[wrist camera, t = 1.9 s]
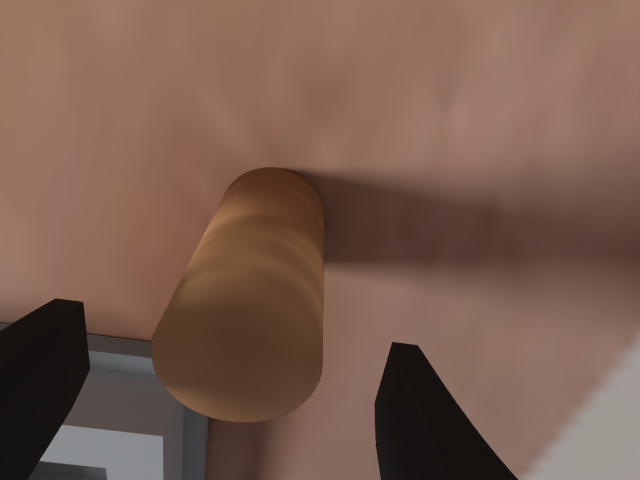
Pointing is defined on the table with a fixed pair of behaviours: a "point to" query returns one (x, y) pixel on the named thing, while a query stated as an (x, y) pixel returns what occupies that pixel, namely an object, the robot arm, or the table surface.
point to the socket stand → (125, 423)
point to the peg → (249, 304)
